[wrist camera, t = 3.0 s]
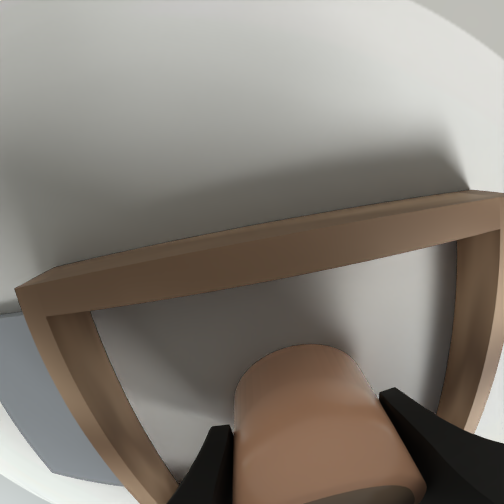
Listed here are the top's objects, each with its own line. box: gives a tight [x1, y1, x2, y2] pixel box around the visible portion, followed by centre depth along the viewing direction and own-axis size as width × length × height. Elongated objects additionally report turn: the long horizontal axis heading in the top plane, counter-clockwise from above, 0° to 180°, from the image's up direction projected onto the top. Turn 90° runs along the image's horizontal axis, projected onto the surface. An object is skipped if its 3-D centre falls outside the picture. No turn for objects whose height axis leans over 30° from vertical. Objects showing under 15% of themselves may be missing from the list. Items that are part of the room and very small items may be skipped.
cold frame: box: [15, 190, 504, 504], centre depth 10 cm, size 14×16×2 cm
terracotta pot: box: [232, 344, 427, 504], centre depth 6 cm, size 5×5×9 cm
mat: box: [0, 312, 125, 487], centre depth 11 cm, size 11×7×1 cm, turn 11°
